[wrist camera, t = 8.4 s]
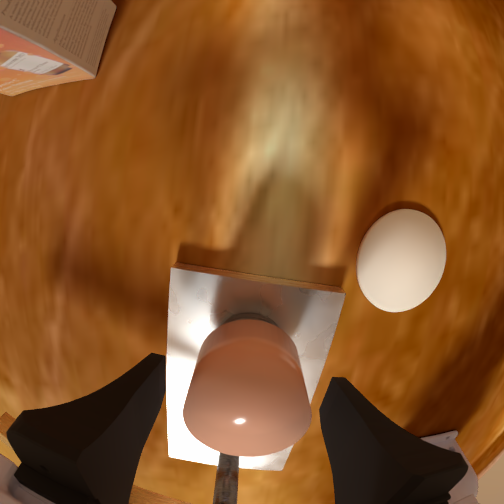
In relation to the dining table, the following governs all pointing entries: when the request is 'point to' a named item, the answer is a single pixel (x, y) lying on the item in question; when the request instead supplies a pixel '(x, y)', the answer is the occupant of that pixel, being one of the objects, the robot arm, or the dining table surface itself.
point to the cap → (247, 391)
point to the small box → (51, 41)
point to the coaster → (401, 260)
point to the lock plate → (217, 303)
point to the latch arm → (140, 499)
